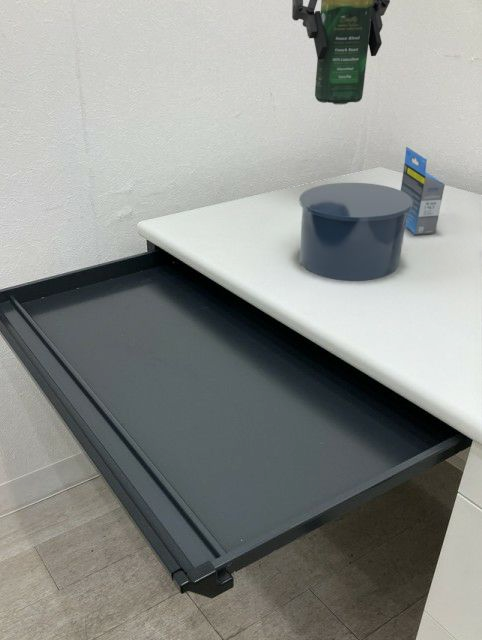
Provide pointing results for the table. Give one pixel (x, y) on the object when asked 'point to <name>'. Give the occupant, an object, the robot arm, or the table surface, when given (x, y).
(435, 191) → the tape cartridge
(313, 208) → the pot
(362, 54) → the coffee jar
